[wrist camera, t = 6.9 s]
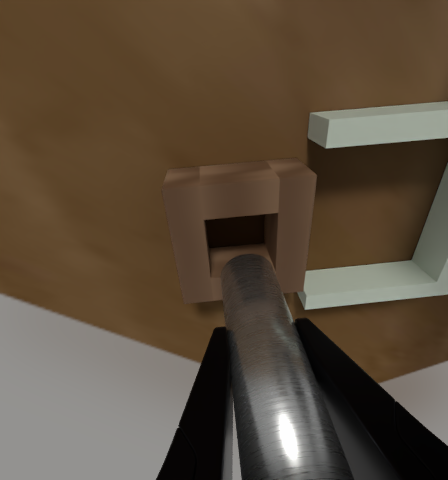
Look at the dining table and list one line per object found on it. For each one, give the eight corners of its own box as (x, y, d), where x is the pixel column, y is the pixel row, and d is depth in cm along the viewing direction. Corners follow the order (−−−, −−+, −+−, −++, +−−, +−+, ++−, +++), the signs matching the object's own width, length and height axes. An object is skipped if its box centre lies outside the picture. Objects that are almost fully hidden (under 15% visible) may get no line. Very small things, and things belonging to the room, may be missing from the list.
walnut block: (296, 157, 15) (317, 175, 12) (288, 261, 18) (303, 291, 16) (167, 169, 14) (161, 189, 12) (186, 271, 18) (184, 303, 16)
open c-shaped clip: (493, 97, 14) (544, 101, 12) (422, 271, 20) (447, 294, 18) (309, 113, 14) (329, 119, 11) (293, 285, 20) (304, 309, 18)
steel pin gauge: (277, 248, 11) (434, 601, 4) (274, 294, 13) (387, 621, 5) (215, 254, 11) (251, 627, 4) (220, 300, 13) (252, 641, 5)
